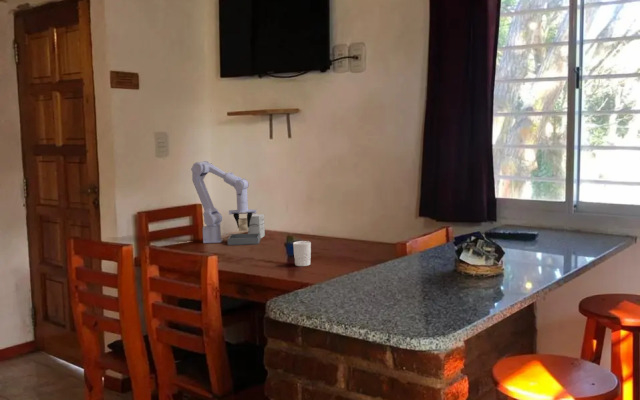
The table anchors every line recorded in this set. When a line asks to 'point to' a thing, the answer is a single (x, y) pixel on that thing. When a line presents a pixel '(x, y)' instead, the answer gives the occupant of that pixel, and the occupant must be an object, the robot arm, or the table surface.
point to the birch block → (243, 224)
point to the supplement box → (257, 224)
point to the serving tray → (244, 239)
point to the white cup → (302, 253)
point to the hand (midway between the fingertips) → (243, 227)
